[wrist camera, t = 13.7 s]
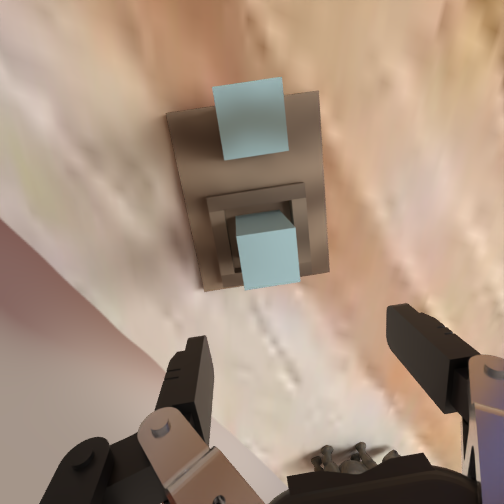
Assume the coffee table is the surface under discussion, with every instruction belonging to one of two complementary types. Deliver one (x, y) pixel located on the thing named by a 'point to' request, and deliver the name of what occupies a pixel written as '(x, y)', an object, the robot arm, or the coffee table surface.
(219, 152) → the walnut board
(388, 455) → the rhino figurine
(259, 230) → the teal block
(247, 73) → the coffee table surface
